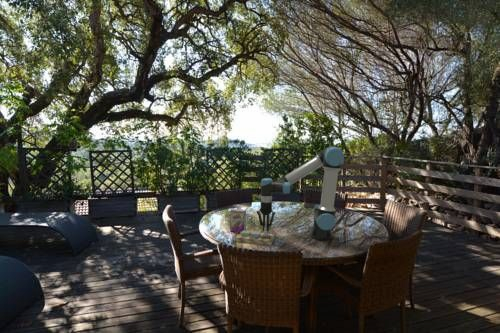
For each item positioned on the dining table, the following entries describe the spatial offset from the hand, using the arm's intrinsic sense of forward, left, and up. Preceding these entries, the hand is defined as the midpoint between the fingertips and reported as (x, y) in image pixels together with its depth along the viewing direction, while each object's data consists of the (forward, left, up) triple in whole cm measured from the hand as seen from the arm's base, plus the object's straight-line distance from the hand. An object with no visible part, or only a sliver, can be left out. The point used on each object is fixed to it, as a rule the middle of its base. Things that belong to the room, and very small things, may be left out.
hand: (265, 235), depth 211 cm
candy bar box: (+24, -14, -4) cm, 28 cm away
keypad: (+7, 0, -4) cm, 8 cm away
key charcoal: (0, 0, -3) cm, 3 cm away
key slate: (+7, 0, -1) cm, 7 cm away
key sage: (+14, 0, -1) cm, 14 cm away
